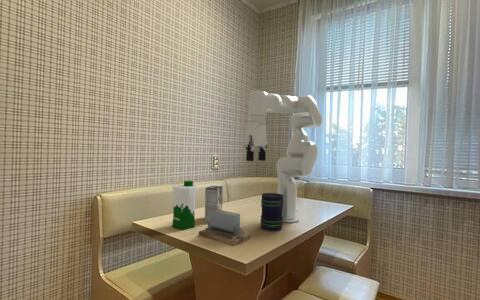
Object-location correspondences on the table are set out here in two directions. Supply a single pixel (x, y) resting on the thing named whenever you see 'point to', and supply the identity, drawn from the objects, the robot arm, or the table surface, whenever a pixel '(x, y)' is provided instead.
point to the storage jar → (272, 212)
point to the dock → (224, 235)
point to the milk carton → (184, 205)
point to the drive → (225, 221)
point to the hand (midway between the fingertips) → (256, 160)
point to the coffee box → (213, 200)
